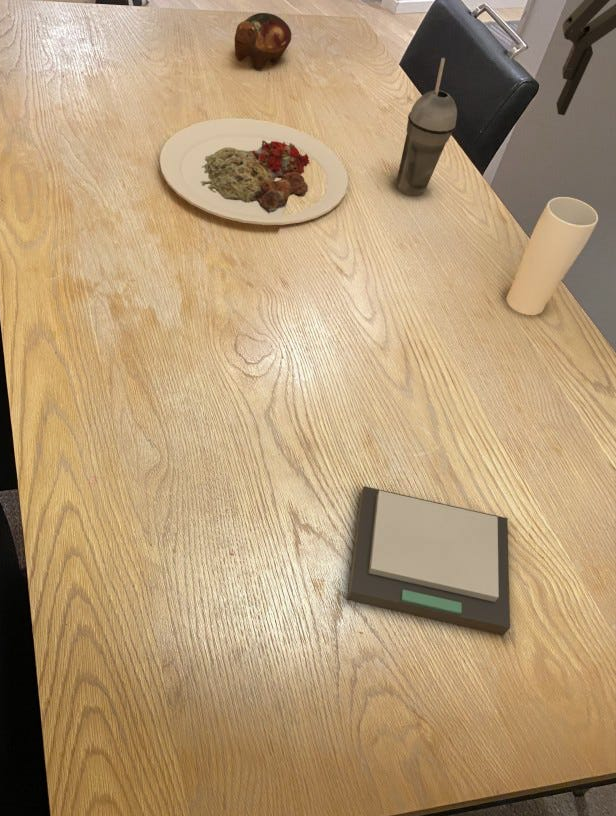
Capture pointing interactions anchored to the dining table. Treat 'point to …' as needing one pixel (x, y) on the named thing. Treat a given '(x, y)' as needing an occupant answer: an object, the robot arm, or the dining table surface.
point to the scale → (431, 561)
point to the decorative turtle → (262, 39)
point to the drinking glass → (551, 252)
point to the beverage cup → (425, 138)
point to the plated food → (249, 170)
